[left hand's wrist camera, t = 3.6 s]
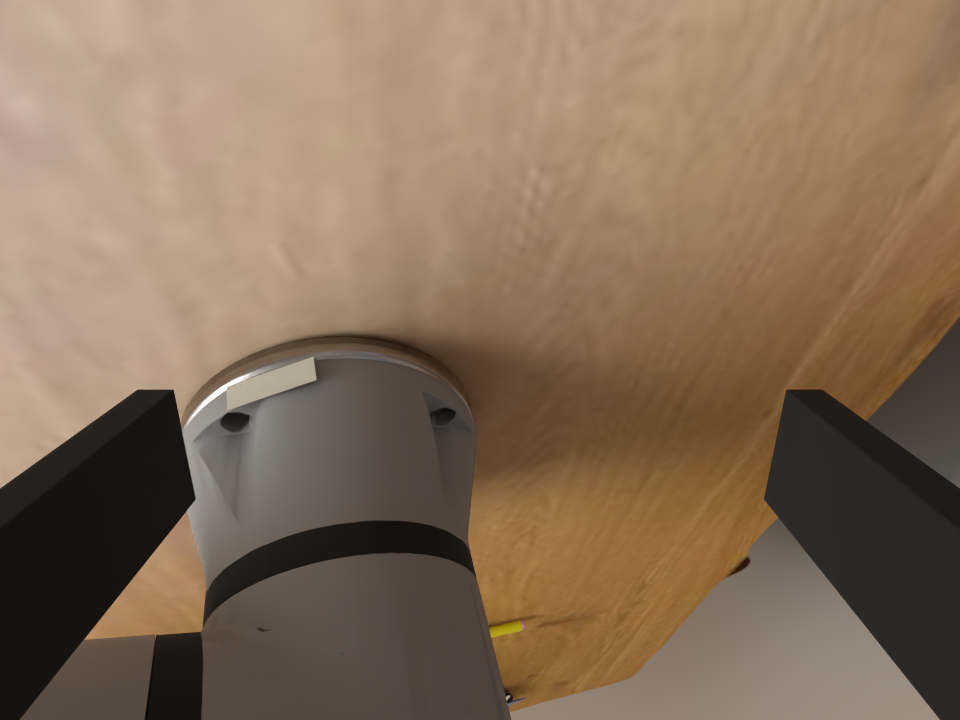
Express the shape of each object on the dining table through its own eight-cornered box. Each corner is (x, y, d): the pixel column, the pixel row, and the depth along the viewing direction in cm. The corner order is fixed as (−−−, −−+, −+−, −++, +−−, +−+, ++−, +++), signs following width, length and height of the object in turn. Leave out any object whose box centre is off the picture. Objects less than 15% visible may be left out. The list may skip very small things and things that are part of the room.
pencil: (522, 618, 60) (525, 627, 60) (521, 621, 61) (524, 631, 60) (362, 655, 57) (363, 666, 56) (363, 658, 58) (364, 669, 57)
